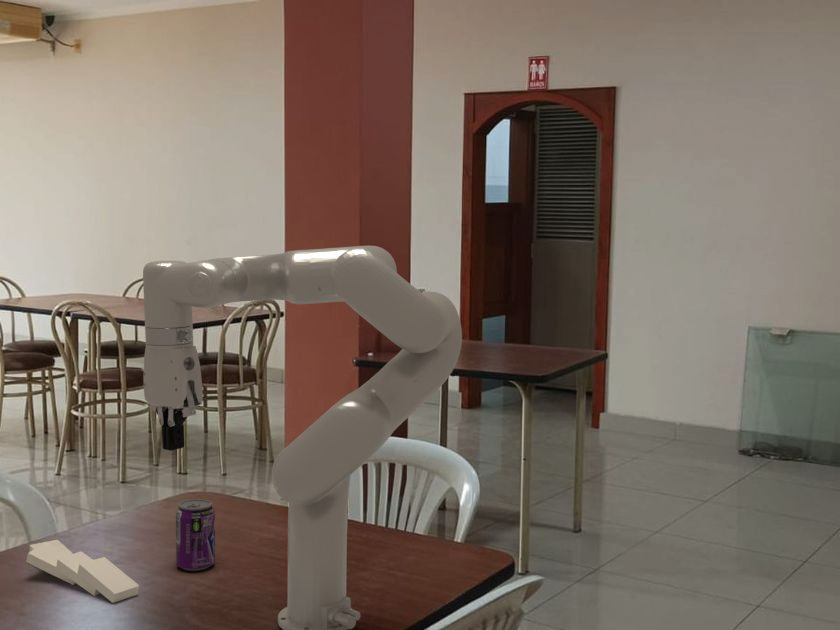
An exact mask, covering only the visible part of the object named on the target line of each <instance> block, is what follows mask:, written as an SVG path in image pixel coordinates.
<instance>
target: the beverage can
mask: <svg viewBox="0 0 840 630" xmlns="http://www.w3.org/2000/svg"><path fill="white" fill-rule="evenodd" d="M177 506H178V509H177V510H176V513H175V565H176V567H178V568H180V569H183V570H184V571H189V572H197V571H198V572H199V571H200V572H201V571H204V570H207V569H208V568H209V567H211V566H214V565H215V563H216V512H215V510H214V507H213V502H212V501H211V500H209V499H204V498H201V499H200V498H199V499H198V498H197V499H195V498H194V499H186V500H183V501H181V502H179V503H178V505H177Z"/></svg>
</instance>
